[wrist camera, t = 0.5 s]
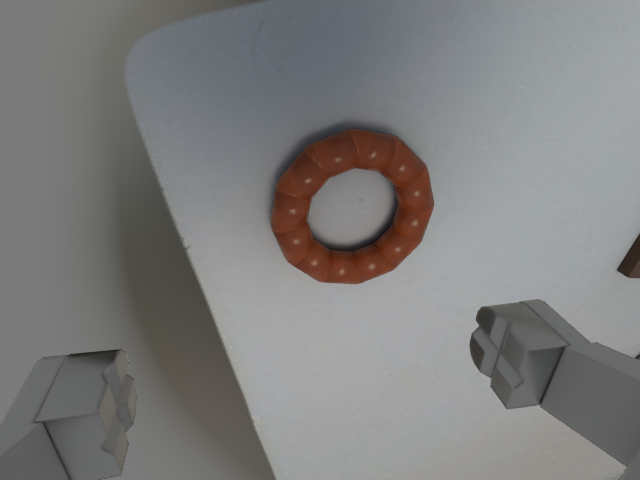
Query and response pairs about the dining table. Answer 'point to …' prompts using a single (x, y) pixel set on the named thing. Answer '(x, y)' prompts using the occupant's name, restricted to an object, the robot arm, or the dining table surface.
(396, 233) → the ring
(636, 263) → the post
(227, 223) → the dining table surface
